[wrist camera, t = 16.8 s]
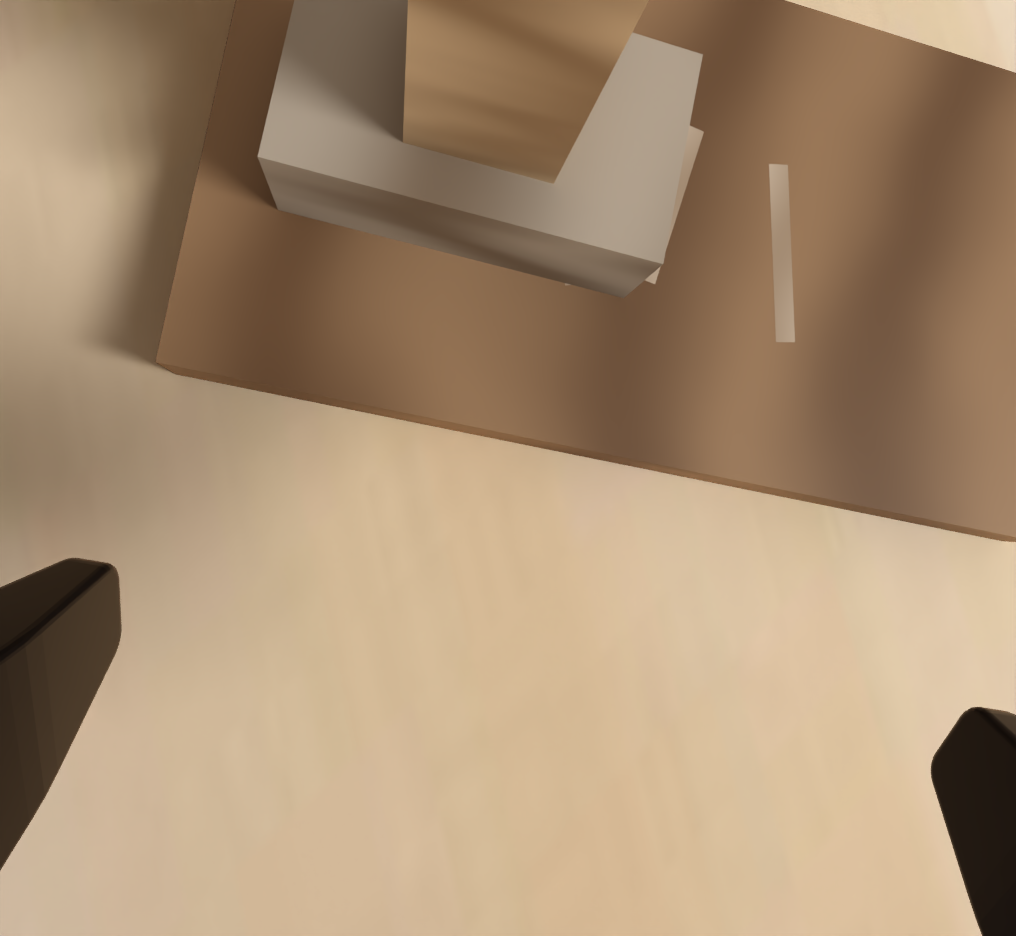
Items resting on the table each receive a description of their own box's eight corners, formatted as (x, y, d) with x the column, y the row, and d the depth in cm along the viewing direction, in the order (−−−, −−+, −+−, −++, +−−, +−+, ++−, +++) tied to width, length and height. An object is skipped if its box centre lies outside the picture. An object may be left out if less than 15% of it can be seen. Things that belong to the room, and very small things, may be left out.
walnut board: (1057, 129, 21) (1107, 101, 20) (1002, 541, 20) (1051, 544, 19) (281, -106, 18) (271, -161, 16) (176, 374, 17) (155, 361, 15)
